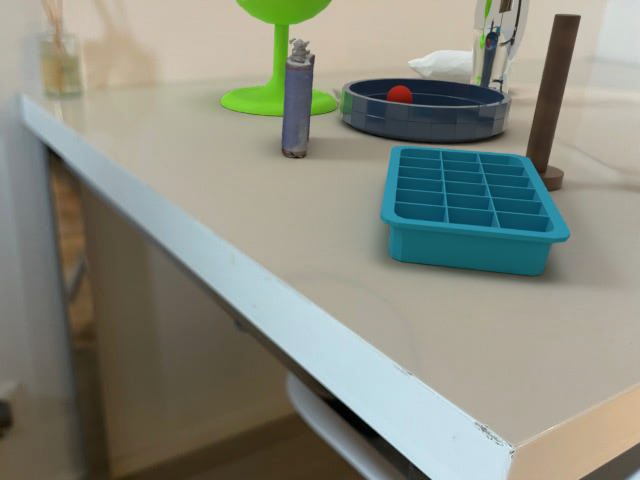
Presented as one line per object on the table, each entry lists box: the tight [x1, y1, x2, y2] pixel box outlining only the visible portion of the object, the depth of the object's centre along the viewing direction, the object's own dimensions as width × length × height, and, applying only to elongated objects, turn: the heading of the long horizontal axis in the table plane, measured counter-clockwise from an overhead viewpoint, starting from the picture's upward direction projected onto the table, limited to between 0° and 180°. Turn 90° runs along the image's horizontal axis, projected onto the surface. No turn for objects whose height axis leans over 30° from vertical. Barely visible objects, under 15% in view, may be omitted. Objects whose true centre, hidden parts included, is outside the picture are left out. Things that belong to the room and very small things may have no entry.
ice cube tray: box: [379, 145, 572, 277], centre depth 50 cm, size 12×20×3 cm, turn 167°
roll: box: [407, 49, 472, 83], centre depth 105 cm, size 6×12×6 cm, turn 74°
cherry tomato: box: [387, 86, 412, 104], centre depth 84 cm, size 3×3×3 cm
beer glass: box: [469, 0, 531, 94], centre depth 92 cm, size 7×7×15 cm
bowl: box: [339, 77, 513, 144], centre depth 80 cm, size 20×20×4 cm
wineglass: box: [220, 0, 338, 117], centre depth 87 cm, size 16×16×18 cm
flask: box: [281, 37, 316, 159], centre depth 68 cm, size 9×3×11 cm, turn 173°
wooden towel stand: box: [525, 13, 582, 192], centre depth 57 cm, size 5×5×14 cm
